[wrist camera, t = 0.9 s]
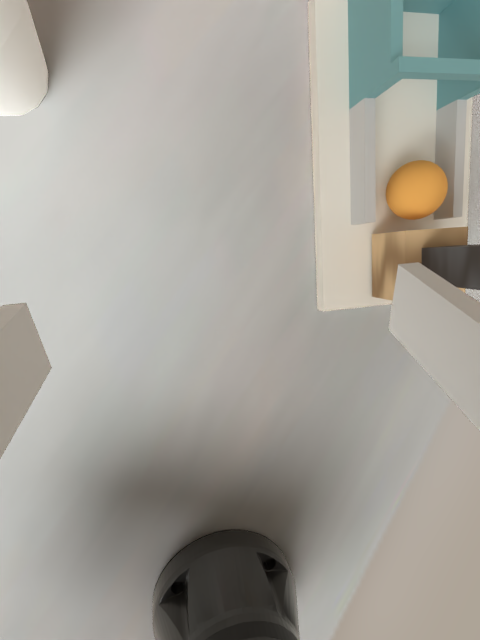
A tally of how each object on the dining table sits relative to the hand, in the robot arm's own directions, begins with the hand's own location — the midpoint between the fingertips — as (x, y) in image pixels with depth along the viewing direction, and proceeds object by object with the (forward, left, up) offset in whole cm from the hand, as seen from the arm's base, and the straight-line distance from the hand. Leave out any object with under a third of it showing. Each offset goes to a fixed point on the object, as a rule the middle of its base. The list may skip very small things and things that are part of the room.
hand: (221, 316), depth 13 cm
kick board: (+10, -21, -21) cm, 31 cm away
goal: (+18, -21, -20) cm, 34 cm away
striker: (0, -21, -19) cm, 29 cm away
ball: (+6, -21, -17) cm, 28 cm away
